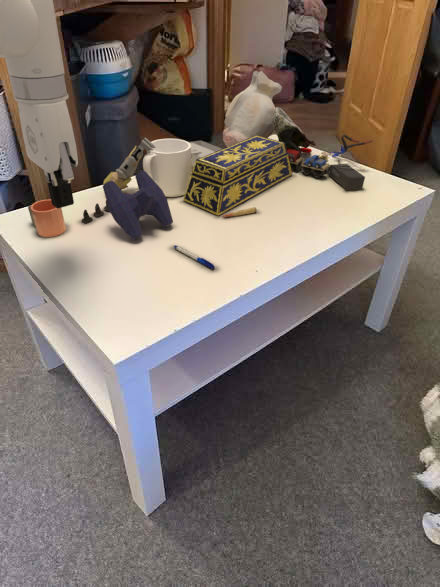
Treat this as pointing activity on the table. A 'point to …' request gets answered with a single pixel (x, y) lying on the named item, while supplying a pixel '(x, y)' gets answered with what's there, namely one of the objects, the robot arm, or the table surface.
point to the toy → (129, 165)
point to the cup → (48, 218)
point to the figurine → (137, 204)
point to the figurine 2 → (343, 150)
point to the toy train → (308, 163)
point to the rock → (289, 131)
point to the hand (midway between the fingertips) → (63, 204)
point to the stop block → (31, 215)
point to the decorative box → (237, 173)
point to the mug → (169, 165)
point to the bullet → (241, 212)
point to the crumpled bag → (251, 111)
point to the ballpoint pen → (196, 257)
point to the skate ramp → (201, 150)
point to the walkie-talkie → (346, 176)
